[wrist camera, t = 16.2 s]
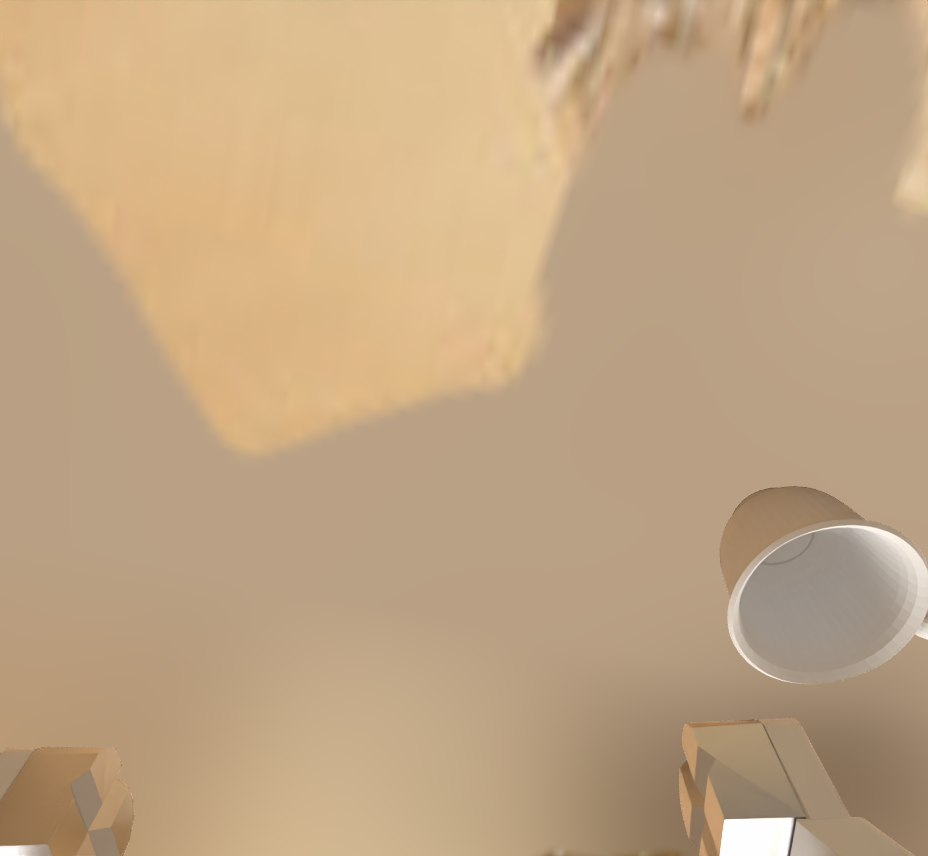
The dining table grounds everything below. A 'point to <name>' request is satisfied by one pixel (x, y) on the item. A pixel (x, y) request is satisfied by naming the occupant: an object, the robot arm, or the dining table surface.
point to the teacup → (819, 587)
